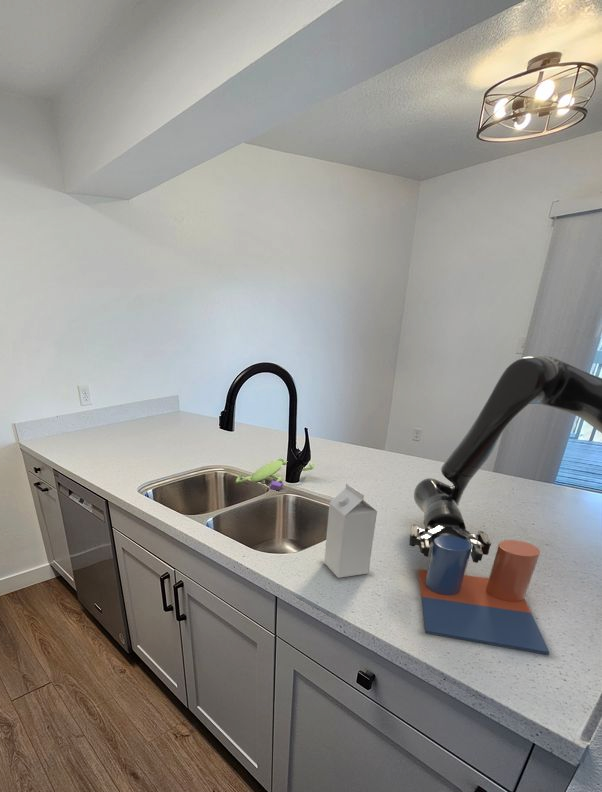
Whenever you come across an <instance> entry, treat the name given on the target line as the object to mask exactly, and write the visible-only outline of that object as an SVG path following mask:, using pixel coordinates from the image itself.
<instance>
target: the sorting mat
mask: <svg viewBox="0 0 602 792" xmlns="http://www.w3.org/2000/svg"><path fill="white" fill-rule="evenodd" d="M427 571H428V569H420V568H419V569H418V577H419V578H418V579H419V587H420V589H419V590H420V596H421V605H422V606H421V607H422V615H423V624H424V632H425V633H424V634H429V635H434V636H439V637H445V638H451V639H456V640H463V641H468V642H474V643H480V644H484V645H485V644H486V645H492V646H496V647H501V648H502V647H503V648H507V649H514V650H518V651H525V652H530V653H536V654H542V655H549V654H550V649H549V648H548V645H547V644H546V641H545V639H544V637H543V635H542V633H541V631H540V629H539V627H538V623H537V621H536V620H535V618H534V615H533V614H532V612H531V608H530V607H529V605H528V603H527V600H526V597H525V598H524V599H523V600H522V601H519V602H509V601H504V600H500V599H497V598H495V597H493V596H491V595H490V594H489V593H488V592H487V591H486V586H487V582H488V579H489V577H483V576H482V577H481V576H476V575H475V576H473V575H467V574H465V575H464V579H463V583H462V586H461V590H460V592H459V593H458V594H455V595H442V594H438V593H435V592H433V591H431V590H429V589H428V588H427V587H426V585H425V581H426V576H427Z"/></svg>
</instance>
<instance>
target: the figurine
mask: <svg viewBox="0 0 602 792" xmlns="http://www.w3.org/2000/svg"><path fill="white" fill-rule="evenodd" d="M287 462H288V461H285V458H279V459H277V460H272V461H271V462H269V463H266V464H265V465H263V466H261V467H259V468H258V469H257V470H256V471H254V473H252V474H251V475H249V476H245V477H244V478H243V474H242V473H240V474H239V475H238V476H237V478H236V479H235V484H236V485H241V484H243V483H245V482H246V481H249V480H250V481H251V482H253V483H255V484H257V483H259V482H260V484H262V485H265V484H266V479H268V478H272V479H271V480H270V483H268V486H269V490H272V491H279V490H282V488H283V487H284V482H283V481H282V478H281V477H279V476H277V475H275V474H276V473H278V471H279V470H280V469H281V468H282V466H288V465H287ZM308 466H309V467H303V469H302V471H301V472H306V471H312V470H314V468H315V466H314V463H313V462H310V463H308Z"/></svg>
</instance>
